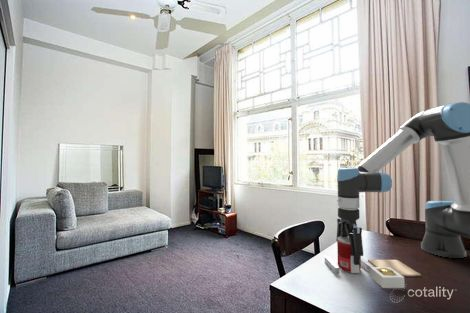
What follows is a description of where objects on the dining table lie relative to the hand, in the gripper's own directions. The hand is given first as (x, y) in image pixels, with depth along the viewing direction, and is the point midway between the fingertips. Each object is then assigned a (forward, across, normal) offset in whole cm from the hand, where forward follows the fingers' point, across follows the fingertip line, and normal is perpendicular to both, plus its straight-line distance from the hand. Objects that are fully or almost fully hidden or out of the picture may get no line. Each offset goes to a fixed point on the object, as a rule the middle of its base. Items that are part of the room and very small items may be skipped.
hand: (349, 267), depth 88 cm
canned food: (0, 0, 0) cm, 0 cm away
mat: (+1, 0, +17) cm, 17 cm away
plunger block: (0, +10, +8) cm, 13 cm away
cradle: (0, 0, 0) cm, 1 cm away
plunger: (-1, +10, +8) cm, 13 cm away
